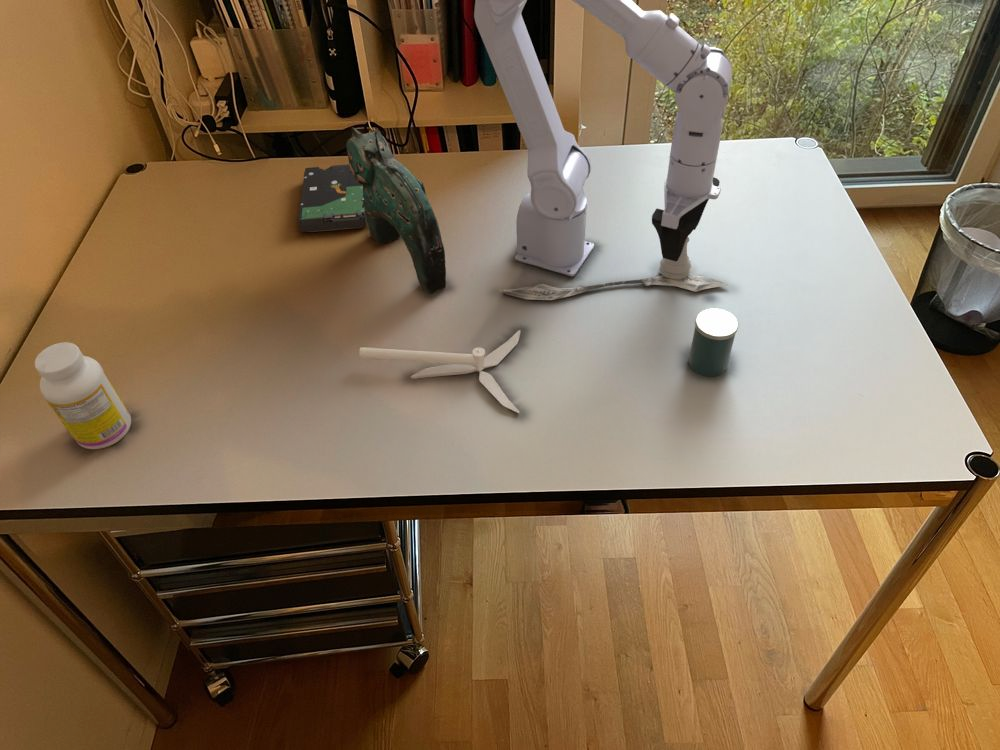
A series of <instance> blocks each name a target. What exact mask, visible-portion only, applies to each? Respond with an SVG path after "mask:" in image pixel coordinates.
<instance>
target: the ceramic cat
mask: <svg viewBox="0 0 1000 750" xmlns="http://www.w3.org/2000/svg"><path fill="white" fill-rule="evenodd" d="M345 147H346V153H347V159H348V165H349V167H350V170H351V172H352V174H353V176H354V178H356V179H357V180H358V182H359V183H360V184H362V185H363V195H364V203H365V214H366V218H367V226H368V231H369V235H370V237H371V238H372V239H373V240H374V241H375V242H376V243H377V244H379V245H384V244H388V243H390V242H392V241H394V240H397V239H400V238H401V239H402V241H403V242H404V246H405V247H406V249H407V251H408V253H409V255H410V257H411V260H412V265H413V267H414V271H415V275H416V278H417V281H418V283H419V286H420V288H421V289H422V291H423V292H424V293H426V294H427V295H432V294H435V293H436V292H439V291H441V290H443V289H446V286H447V281H446V277H447V269H446V267H447V266H446V252H445V245H444V242H443V238H442V235H441V230H440V226H439V223H438V220H437V217H436V215H435V213H434V210H433V208H432V205H431V203H430V201H429V199H428V197H427V193H426V188H425V186H424V183H423V182H422V181H421V180H420V179H418V178H417V177H415V176H414V175H413V173H412V172H411V171H410V170H409V168H407V166H405V165H404V164H403V163H401V162H399V161H398V160H397V159H396V157H395V156H394V154H393V152H392V150H391V147H390V146H389V143H388V142H387V140H386V138H385V137H384V136H383V134H382V132H381V130H379V129H374V131H371V132H367V133H362V132H361V131H359V130H357V129H356V128H355V127H351V137H350V138H349V139H348V140H347V141H346V144H345Z"/></svg>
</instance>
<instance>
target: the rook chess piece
mask: <svg viewBox="0 0 1000 750" xmlns="http://www.w3.org/2000/svg"><path fill="white" fill-rule="evenodd" d="M689 241H690V238H689V236H688V237H687V239H686V242H685V245H684V248H683V251H682V253H681V255H680V257H679V259H678V261H672V260H668V259H665V258H663V257H662V258H661V260H660V261H659V267H658V272H659V273H660V274H661V276H665V277H667V278H670V279H683V278H685V277H687V276H689V275H691V273H692V271H691V270H692V269H691V268H692V263H691V260H690V259H689V258H690V257H689V256H688V243H689Z"/></svg>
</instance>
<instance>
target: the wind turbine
mask: <svg viewBox="0 0 1000 750" xmlns="http://www.w3.org/2000/svg"><path fill="white" fill-rule="evenodd" d="M521 331H522V330H517V331H516V332H515V333H514V334H513V335H512V336H511V337H510V338H509V339H508V340H506V341H505V342H504V343H503V344H501V345H500V346H498V347H497V348H496V349H494V350H493V351H491V352H490V353H489V354H487V355H486V350H485V349H484V348H483V347H475V348H473V349H472V351H471V352H472V353H457V352H443V351H428V350H427V351H426V350H413V349H411V350H409V349H394V348H393V349H392V348H379V347H378V348H377V347H362V346H361V347H360V348H359V351H358V354H359V355H358V356H359V359H366V360H367V359H368V360H383V361H399V362H415V363H431V364H432V363H433V364H442V365H436V366H429V367H425V368H424V369H421V370H420V371H417V372H416V373H414V374H412V375H410V378H411V379H412V380H415V379H416V380H417V379H423V378H431V377H446V376H455V375H467V374H471V373H474V372H478V373H479V376H478V381H479V383H481V384H482V385H483V386H484V387H485V389H486V390H487V391H488V392H489V393H490V394H491V395H492V396H493V397H494V398H495V399H496V400H497V401H498V403H499V404H501V405H502V406H503V407H505V408H507V409H509V410H510V411H513V412H515V413H517V414H520V409H518V408H517V407H516V406H515V404H514V403H512V401H511V400H510V399H509V398H508V397H507V395H506V393H504V391H503V390H502V388H501V387H500V385H499V384H498V382H497V381H496V380H495V378H494V377H493V376H492V374H491V373H488V372H486V371H483V370H484V369H488V368H491V367H494V366H497V365H499V364H500V362H502V360H503V359H504V358H505V357H506V356H508V354H509V353H510V352H511V351H512V350H513V349H514V348H515V347H516V346H517V345H518V343H519V340H520V336H521Z"/></svg>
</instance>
